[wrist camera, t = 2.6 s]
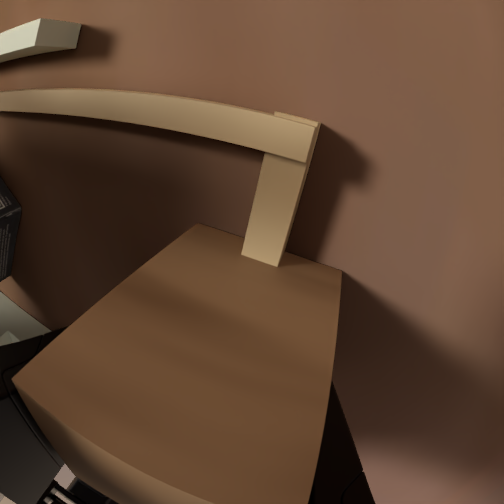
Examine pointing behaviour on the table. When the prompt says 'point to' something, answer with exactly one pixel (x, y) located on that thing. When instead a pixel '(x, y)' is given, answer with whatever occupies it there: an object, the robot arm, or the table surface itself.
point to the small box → (7, 229)
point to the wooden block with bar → (197, 334)
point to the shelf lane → (8, 48)
